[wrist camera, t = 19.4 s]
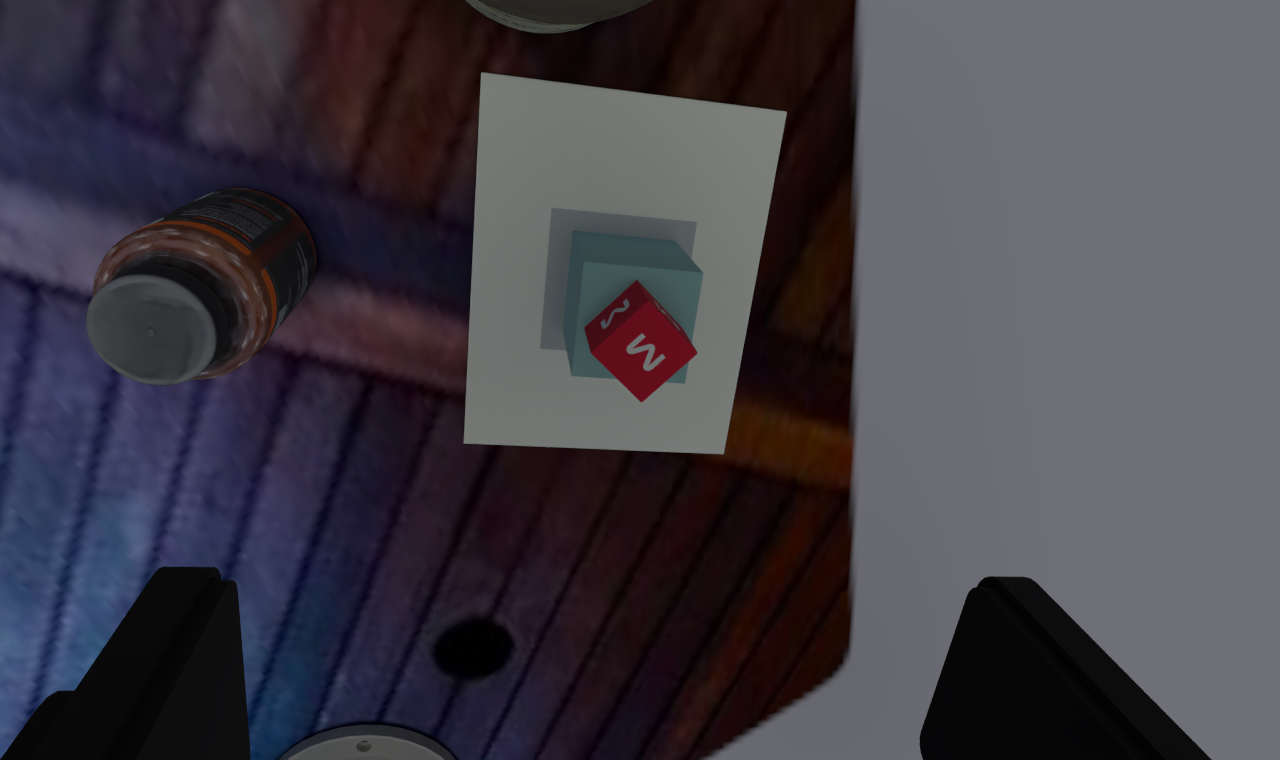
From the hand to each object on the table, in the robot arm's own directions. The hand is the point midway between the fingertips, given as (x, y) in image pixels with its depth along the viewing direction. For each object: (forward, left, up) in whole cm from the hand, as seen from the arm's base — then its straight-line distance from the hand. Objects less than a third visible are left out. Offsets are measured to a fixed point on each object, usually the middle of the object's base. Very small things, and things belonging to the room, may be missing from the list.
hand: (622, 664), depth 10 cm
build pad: (-3, -4, -30) cm, 31 cm away
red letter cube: (-3, -4, -23) cm, 24 cm away
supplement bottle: (-3, +13, -31) cm, 33 cm away
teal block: (-3, -4, -29) cm, 30 cm away
